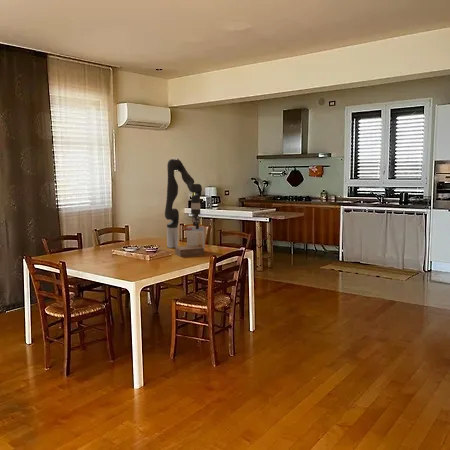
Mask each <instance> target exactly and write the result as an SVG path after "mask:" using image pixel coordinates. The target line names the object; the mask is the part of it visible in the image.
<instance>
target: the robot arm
mask: <svg viewBox="0 0 450 450" xmlns="http://www.w3.org/2000/svg"><path fill="white" fill-rule="evenodd" d="M166 166H167V188H166V199H165V200H166V203H165V210H164V218H165V219H166V220H167V221H169V220H170V222H168V223H167V224H166V240H167V241H166V247H167V248H169V249H173V248H174V249H175V247H179V239H178V237H179V235H178V234H179V232H178V231H179V229H178V227H179V222H180V221H179V220H180V214H179V210H178V209H177V208H173V205H174V203H175V200H176V199H177V197H178V194H179V185H178V182H177V180H176V177H175V171H178V172H179V173H180V175H181V179H182V181H183V182H184V183H185V185H186V187H187V188H188V190H189V192H191V193H192V194H193V193H194V194H193V195H191V197H190V200H191V205H190V212H191V213H190V215H191V217H192V219H191V222H192V226H196V229H199V226H200V224H201V223H200V216H199V215H201V195H202V191H203V186H202V185H201V184H200V183H195V180H194V178H193V177H192V176H191V175H190V174H189V172H188V171H187V169H186V167H185V165H183V162H182V161H181V160H180V159H177V158H175V159H173V158H170V159H169V160H168V161H167V165H166Z"/></svg>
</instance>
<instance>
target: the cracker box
mask: <svg viewBox="0 0 450 450" xmlns="http://www.w3.org/2000/svg"><path fill="white" fill-rule="evenodd" d="M205 230H206V229H205V226H204V225H199V229H196V226H193V225H187V226H186V246H199V247H202V248H204V252H205V251H206V249H205V248H206V245H205V244H206V242H205V241H206V234H205Z"/></svg>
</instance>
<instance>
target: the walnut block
mask: <svg viewBox="0 0 450 450" xmlns="http://www.w3.org/2000/svg"><path fill="white" fill-rule="evenodd" d="M204 252H205V251H204V248H202V247H199V246H187V245H186V246H178V247H175V248H174V254H175V255H176V256H177V257H179V258H186V257H199V256H200V255H202V256H204Z"/></svg>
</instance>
